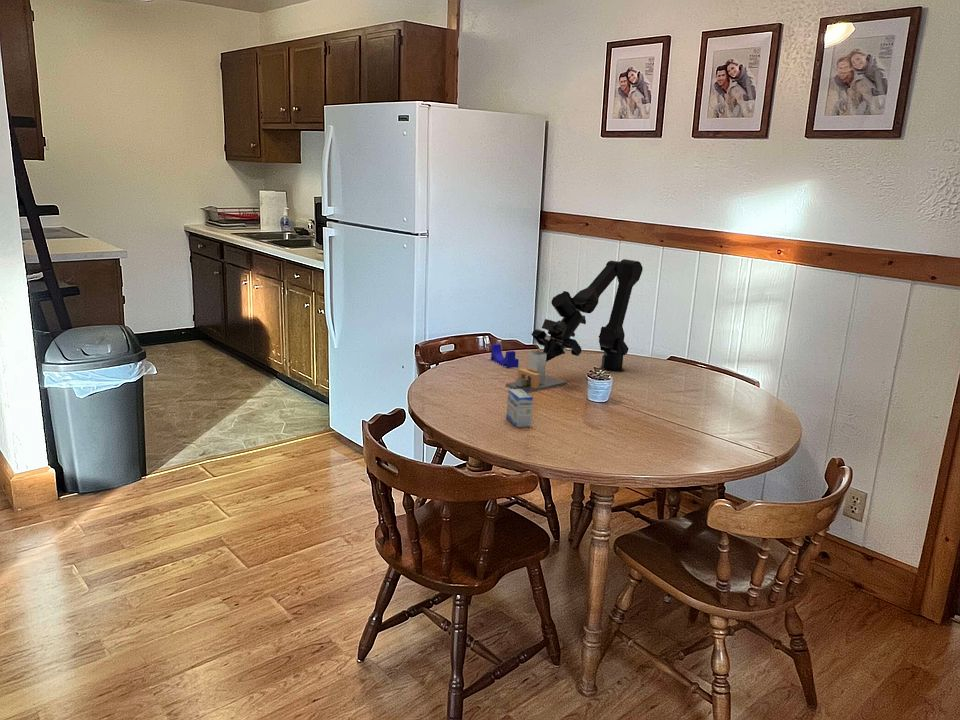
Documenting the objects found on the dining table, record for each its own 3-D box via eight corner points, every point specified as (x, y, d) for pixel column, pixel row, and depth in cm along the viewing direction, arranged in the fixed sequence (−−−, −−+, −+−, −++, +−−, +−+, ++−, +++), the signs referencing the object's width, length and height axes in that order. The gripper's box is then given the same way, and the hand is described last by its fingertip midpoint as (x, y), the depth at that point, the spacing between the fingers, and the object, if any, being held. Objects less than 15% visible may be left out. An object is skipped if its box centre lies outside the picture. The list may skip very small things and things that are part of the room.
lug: (521, 381, 246) (522, 368, 245) (538, 387, 240) (539, 374, 239) (517, 382, 245) (518, 369, 244) (534, 388, 239) (535, 375, 238)
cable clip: (518, 367, 266) (519, 351, 264) (507, 368, 264) (508, 352, 262) (501, 359, 276) (502, 343, 274) (490, 360, 274) (491, 344, 272)
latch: (535, 380, 247) (537, 350, 245) (544, 383, 244) (546, 353, 242) (513, 384, 241) (515, 354, 238) (522, 387, 238) (524, 357, 235)
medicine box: (505, 418, 212) (507, 389, 210) (520, 417, 214) (522, 388, 211) (516, 427, 205) (518, 397, 203) (531, 426, 207) (533, 396, 204)
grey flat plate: (547, 377, 254) (547, 375, 254) (566, 384, 248) (567, 381, 248) (505, 386, 242) (505, 383, 242) (525, 393, 236) (525, 391, 236)
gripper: (537, 305, 250) (511, 341, 246) (578, 315, 237) (551, 353, 232) (552, 326, 257) (526, 361, 253) (592, 337, 244) (567, 374, 239)
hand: (542, 362), depth 244 cm, fingers closed
